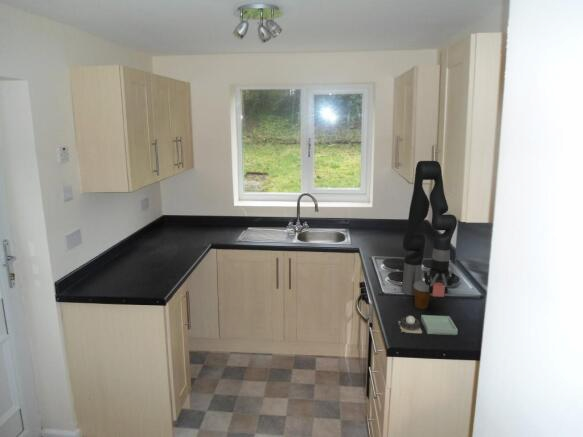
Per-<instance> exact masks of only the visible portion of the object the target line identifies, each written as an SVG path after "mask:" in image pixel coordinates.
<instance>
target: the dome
mask: <svg viewBox="0 0 583 437" xmlns="http://www.w3.org/2000/svg"><path fill="white" fill-rule="evenodd" d="M405 317H406V323H409V324H415V319H416V318H415V317H414V316H413V315H407V316H405Z"/></svg>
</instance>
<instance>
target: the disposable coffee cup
mask: <svg viewBox="0 0 583 437" xmlns="http://www.w3.org/2000/svg"><path fill="white" fill-rule="evenodd" d="M413 286H414V295H413V296H414V307H416V308H417V309H422V310H425V309H428V307H429V302H430V299H431V296H432V294H430V292H429V285H426V283H425V280H420V281H417V282H415V283H414V285H413Z"/></svg>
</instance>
